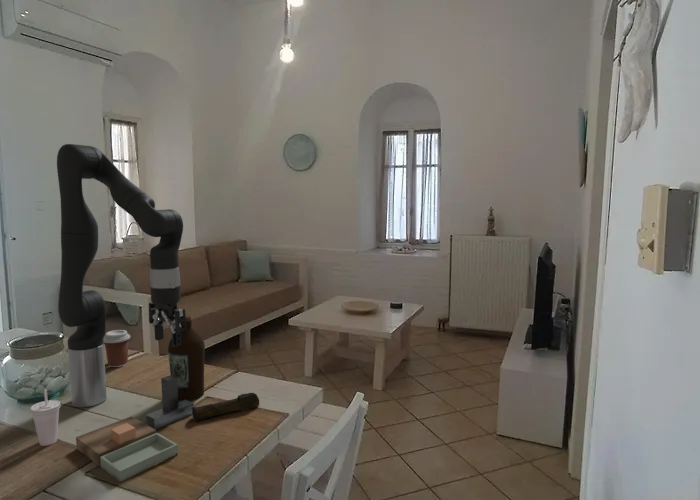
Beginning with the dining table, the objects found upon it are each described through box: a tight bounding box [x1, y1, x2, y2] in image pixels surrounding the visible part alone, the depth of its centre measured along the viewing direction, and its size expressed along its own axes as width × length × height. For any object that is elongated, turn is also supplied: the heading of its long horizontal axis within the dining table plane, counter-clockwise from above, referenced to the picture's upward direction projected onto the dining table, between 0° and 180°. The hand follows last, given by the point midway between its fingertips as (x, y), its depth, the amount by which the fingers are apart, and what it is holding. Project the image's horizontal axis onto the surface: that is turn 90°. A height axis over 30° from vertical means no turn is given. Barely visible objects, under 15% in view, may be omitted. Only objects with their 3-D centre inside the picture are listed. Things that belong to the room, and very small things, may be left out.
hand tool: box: [191, 392, 260, 423], centre depth 135 cm, size 19×4×5 cm, turn 117°
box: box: [100, 432, 179, 482], centre depth 112 cm, size 9×14×2 cm, turn 142°
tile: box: [111, 423, 136, 444], centre depth 116 cm, size 4×4×2 cm
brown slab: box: [75, 415, 157, 467], centre depth 118 cm, size 12×14×3 cm
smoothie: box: [29, 388, 62, 447], centre depth 119 cm, size 6×6×14 cm
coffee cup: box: [103, 329, 131, 368], centre depth 172 cm, size 9×9×12 cm
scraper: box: [145, 374, 195, 430], centre depth 132 cm, size 4×12×12 cm, turn 142°
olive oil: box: [167, 314, 206, 402], centre depth 146 cm, size 11×11×25 cm
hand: (167, 342), depth 130 cm, fingers open, 8 cm apart
